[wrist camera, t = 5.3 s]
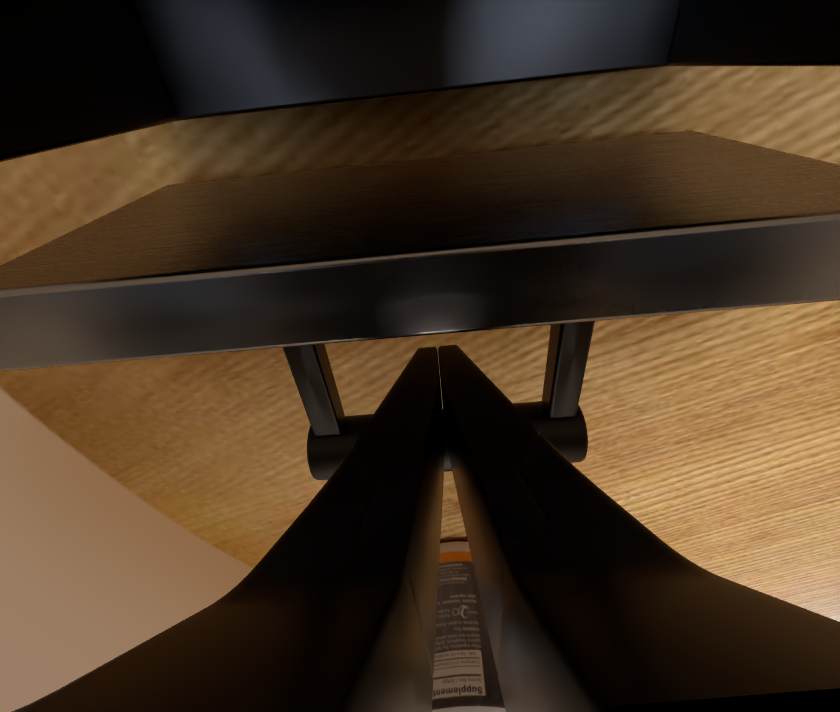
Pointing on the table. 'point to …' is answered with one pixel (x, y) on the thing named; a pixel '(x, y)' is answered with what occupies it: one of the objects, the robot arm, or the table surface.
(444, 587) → the pill bottle
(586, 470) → the table surface
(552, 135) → the table surface
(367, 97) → the drawer
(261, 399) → the table surface
